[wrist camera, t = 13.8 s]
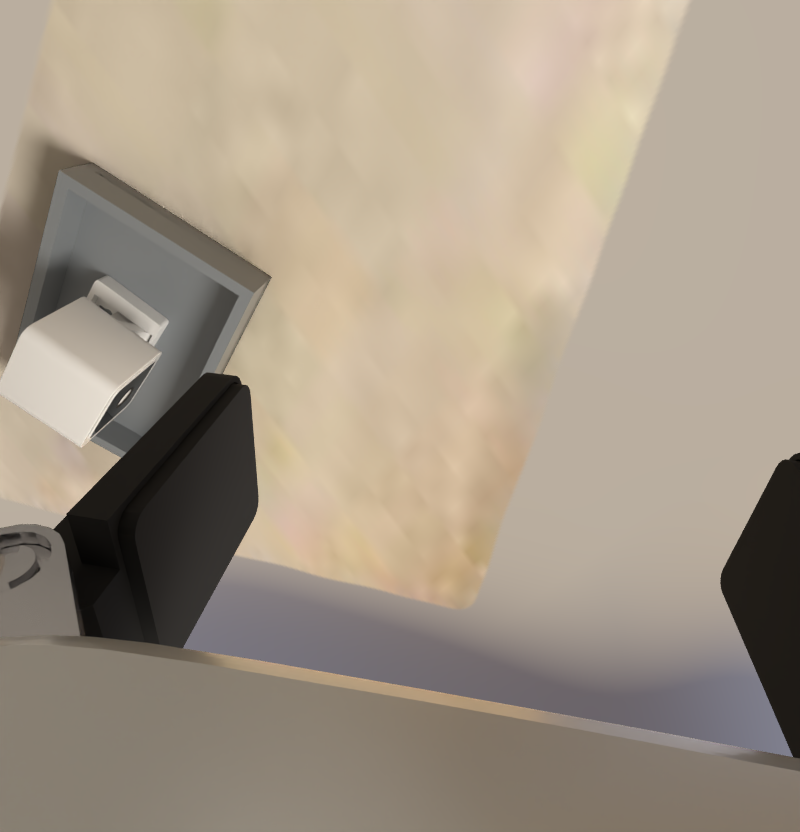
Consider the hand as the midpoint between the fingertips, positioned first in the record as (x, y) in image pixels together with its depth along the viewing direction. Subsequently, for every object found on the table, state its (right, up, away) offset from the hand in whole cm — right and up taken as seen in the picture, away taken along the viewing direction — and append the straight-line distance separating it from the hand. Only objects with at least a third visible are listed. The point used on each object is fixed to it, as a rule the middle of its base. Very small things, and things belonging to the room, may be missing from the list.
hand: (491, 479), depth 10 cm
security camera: (-22, +8, +34) cm, 41 cm away
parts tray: (-22, +8, +35) cm, 42 cm away
